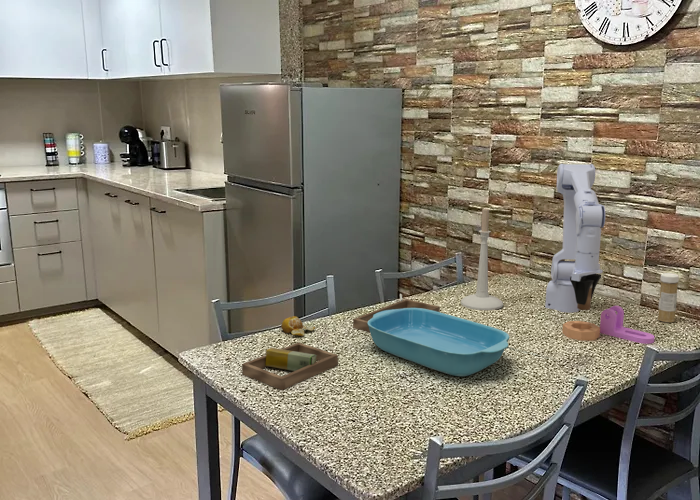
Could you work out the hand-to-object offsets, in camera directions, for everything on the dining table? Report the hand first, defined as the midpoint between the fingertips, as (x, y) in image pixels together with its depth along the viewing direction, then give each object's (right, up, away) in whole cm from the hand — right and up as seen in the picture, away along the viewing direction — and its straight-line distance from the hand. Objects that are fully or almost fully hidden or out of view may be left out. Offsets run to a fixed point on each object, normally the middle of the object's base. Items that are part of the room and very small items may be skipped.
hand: (583, 302), depth 167 cm
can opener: (-45, -7, +32) cm, 55 cm away
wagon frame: (-48, -6, +14) cm, 50 cm away
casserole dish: (-40, -12, -11) cm, 43 cm away
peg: (0, -2, 0) cm, 2 cm away
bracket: (+12, -9, +1) cm, 15 cm away
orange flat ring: (0, -9, +2) cm, 9 cm away
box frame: (-75, -14, -20) cm, 79 cm away
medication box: (-75, -14, -20) cm, 79 cm away
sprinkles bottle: (+28, -6, +13) cm, 31 cm away
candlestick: (-21, -3, +29) cm, 36 cm away
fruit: (-73, -10, +4) cm, 73 cm away
